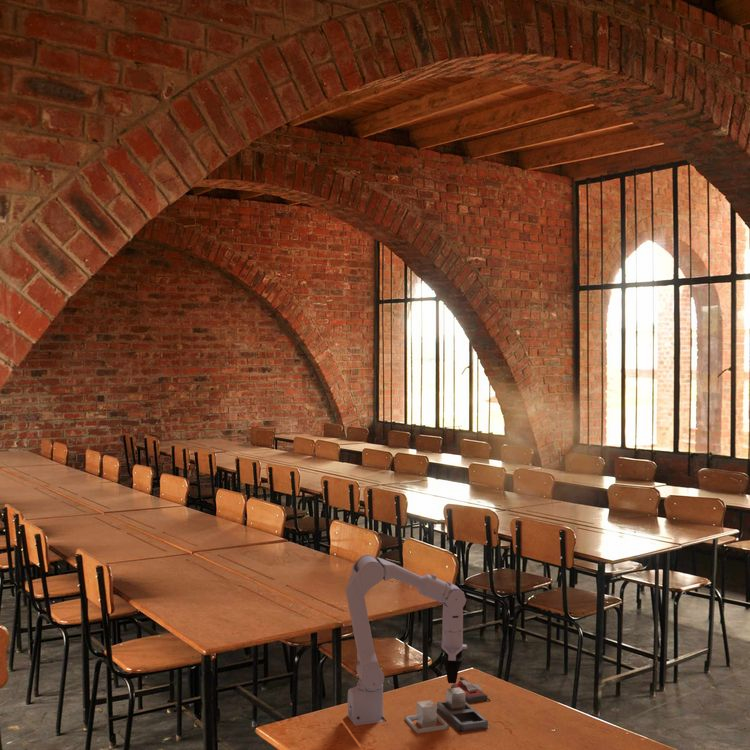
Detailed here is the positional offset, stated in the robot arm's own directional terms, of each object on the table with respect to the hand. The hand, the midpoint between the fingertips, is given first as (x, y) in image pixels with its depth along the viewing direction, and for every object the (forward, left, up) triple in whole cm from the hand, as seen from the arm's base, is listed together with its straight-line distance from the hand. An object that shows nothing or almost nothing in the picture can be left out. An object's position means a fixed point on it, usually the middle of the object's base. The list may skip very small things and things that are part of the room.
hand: (452, 677), depth 232 cm
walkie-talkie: (+10, +11, -10) cm, 18 cm away
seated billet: (0, -3, -9) cm, 9 cm away
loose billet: (-11, -7, -9) cm, 16 cm away
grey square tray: (-11, -7, -10) cm, 16 cm away
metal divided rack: (0, -7, -10) cm, 12 cm away
